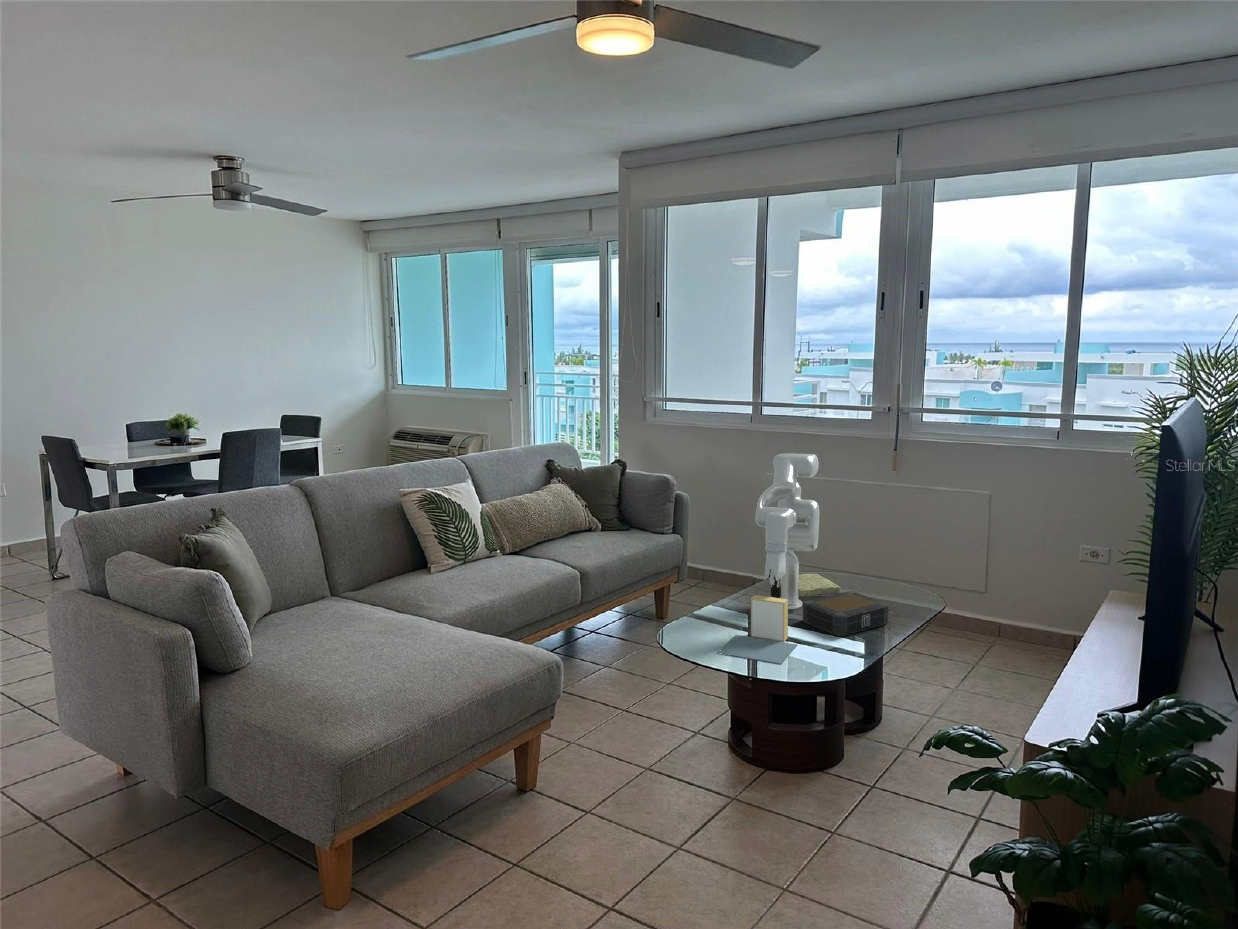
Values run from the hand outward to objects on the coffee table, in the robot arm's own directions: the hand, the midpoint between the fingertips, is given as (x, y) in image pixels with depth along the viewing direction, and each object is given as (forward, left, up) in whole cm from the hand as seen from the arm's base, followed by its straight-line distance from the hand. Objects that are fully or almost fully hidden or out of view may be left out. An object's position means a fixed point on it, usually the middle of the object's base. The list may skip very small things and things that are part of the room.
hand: (775, 597), depth 295 cm
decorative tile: (-54, -3, -13) cm, 55 cm away
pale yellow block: (+7, 0, -12) cm, 14 cm away
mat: (+20, 0, -12) cm, 23 cm away
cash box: (-19, +20, -13) cm, 30 cm away
